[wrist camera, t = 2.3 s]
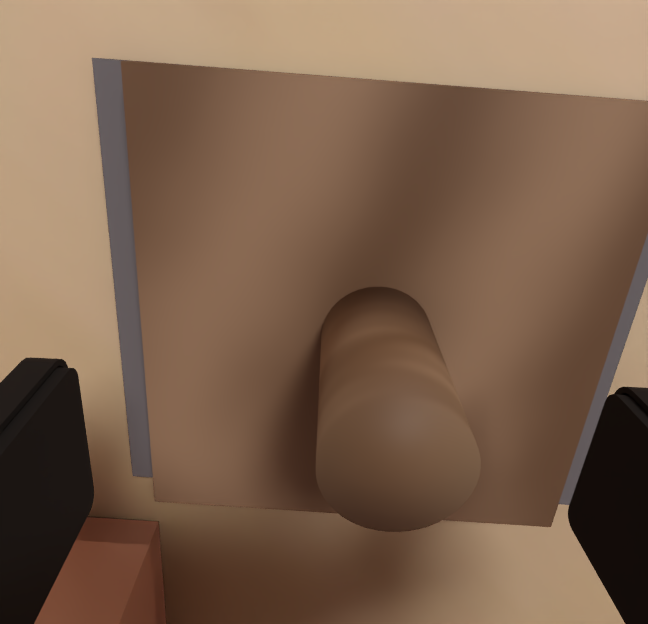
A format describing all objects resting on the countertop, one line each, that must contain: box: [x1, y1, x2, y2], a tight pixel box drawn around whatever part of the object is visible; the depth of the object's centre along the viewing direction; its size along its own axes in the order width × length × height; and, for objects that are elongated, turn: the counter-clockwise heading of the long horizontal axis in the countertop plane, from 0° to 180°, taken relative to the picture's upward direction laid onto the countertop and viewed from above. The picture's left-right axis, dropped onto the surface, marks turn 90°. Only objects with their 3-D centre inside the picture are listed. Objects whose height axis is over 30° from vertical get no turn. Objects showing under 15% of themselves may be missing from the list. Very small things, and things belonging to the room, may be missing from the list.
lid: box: [121, 61, 648, 532], centre depth 12 cm, size 12×12×6 cm
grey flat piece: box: [92, 58, 648, 505], centre depth 15 cm, size 14×12×1 cm
